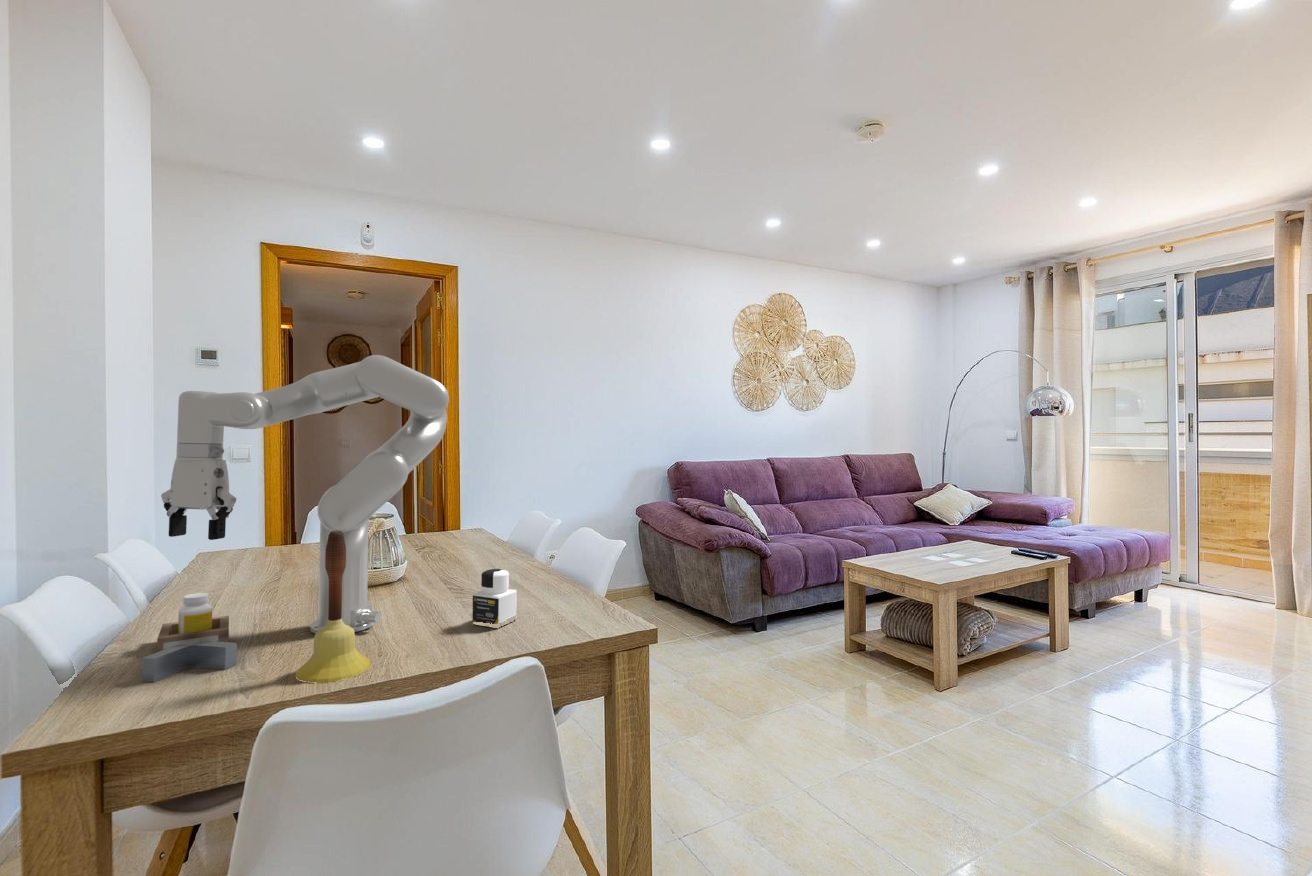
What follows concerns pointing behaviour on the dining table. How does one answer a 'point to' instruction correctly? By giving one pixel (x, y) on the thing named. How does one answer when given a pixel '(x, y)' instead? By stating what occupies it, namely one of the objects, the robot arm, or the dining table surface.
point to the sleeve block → (171, 632)
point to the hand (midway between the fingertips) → (196, 537)
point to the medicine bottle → (494, 598)
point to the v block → (188, 657)
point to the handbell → (334, 627)
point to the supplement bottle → (195, 614)
